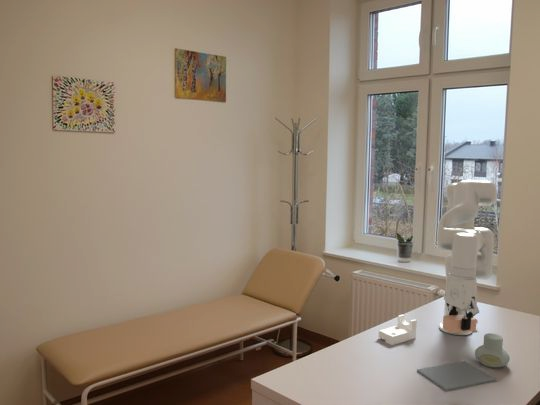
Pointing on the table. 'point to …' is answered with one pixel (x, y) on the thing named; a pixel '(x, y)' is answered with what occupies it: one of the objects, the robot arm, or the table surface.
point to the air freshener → (492, 352)
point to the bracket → (399, 331)
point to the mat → (456, 375)
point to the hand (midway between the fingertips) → (459, 326)
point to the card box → (457, 323)
